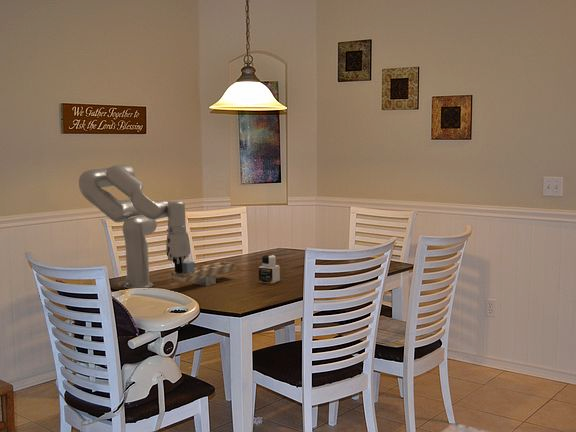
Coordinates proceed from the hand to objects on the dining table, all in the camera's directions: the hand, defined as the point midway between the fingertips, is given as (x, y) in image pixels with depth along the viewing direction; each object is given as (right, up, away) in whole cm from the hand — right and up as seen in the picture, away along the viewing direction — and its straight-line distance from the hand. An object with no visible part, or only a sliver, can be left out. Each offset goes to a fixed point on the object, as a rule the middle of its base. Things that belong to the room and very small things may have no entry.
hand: (178, 272), depth 306 cm
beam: (+10, -2, +12) cm, 16 cm away
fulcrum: (+10, -6, +13) cm, 17 cm away
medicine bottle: (+39, -6, +15) cm, 42 cm away
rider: (+3, -1, +4) cm, 5 cm away
